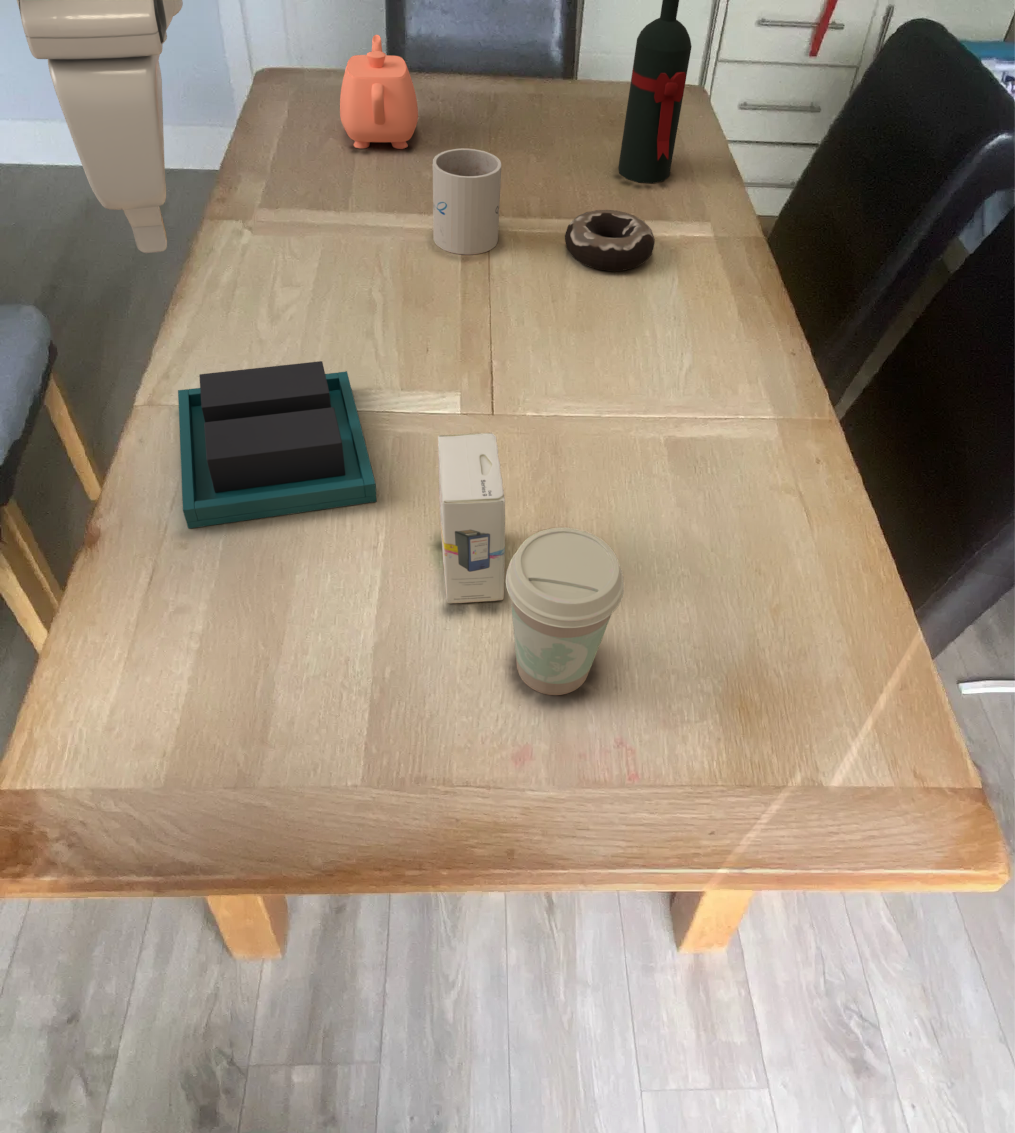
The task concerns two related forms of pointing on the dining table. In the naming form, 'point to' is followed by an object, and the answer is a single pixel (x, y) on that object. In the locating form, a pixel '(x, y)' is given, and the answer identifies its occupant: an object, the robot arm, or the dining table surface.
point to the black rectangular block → (263, 391)
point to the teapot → (378, 99)
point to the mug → (466, 201)
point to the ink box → (471, 517)
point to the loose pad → (274, 449)
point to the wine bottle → (655, 98)
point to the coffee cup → (561, 605)
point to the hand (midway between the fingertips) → (153, 213)
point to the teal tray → (280, 498)
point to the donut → (609, 240)
